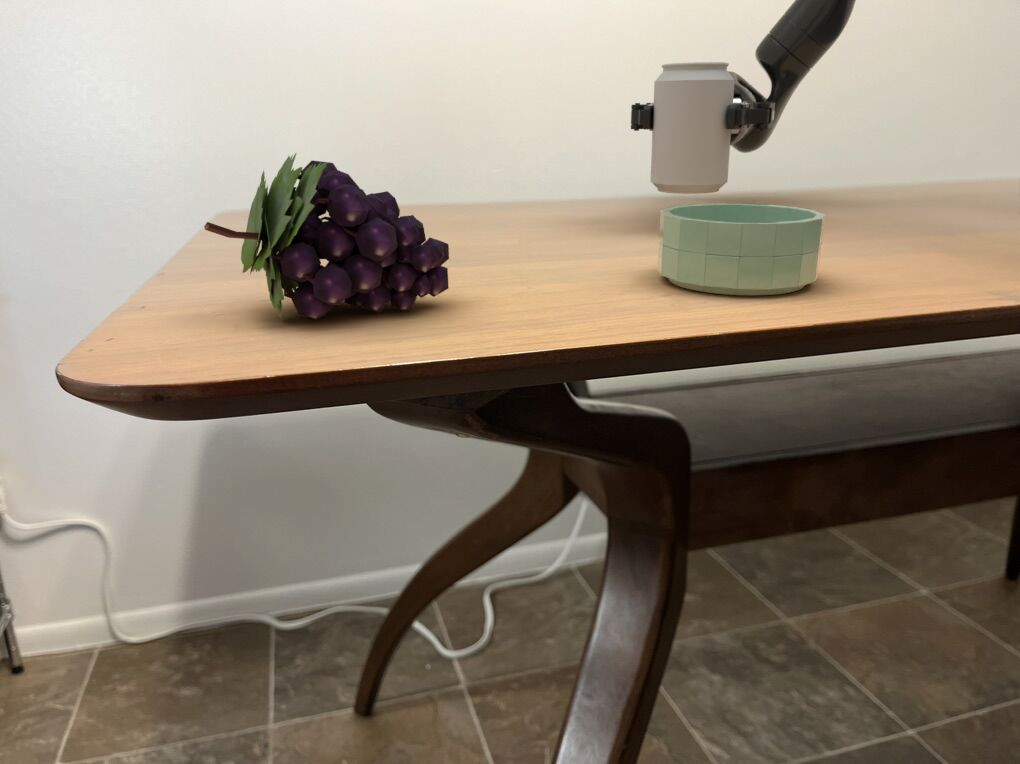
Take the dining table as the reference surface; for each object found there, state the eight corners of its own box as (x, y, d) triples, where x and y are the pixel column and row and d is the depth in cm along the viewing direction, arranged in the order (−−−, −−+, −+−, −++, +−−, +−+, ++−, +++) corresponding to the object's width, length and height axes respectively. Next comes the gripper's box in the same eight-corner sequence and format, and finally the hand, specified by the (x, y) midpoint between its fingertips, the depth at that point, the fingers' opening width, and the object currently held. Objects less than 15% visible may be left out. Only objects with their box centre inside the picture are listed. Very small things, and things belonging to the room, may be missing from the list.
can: (647, 194, 78) (652, 61, 75) (652, 186, 85) (657, 64, 81) (727, 195, 77) (736, 58, 73) (726, 187, 84) (735, 62, 80)
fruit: (447, 364, 51) (195, 331, 45) (407, 301, 60) (192, 266, 54) (492, 208, 48) (225, 147, 41) (443, 165, 56) (216, 110, 50)
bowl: (791, 266, 65) (797, 203, 63) (837, 298, 54) (847, 223, 53) (650, 266, 65) (653, 203, 64) (669, 297, 55) (673, 223, 53)
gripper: (655, 80, 93) (616, 77, 78) (786, 77, 87) (770, 73, 73) (652, 148, 95) (613, 157, 81) (780, 149, 90) (763, 159, 76)
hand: (688, 117), depth 77 cm, fingers closed on can, 7 cm apart
